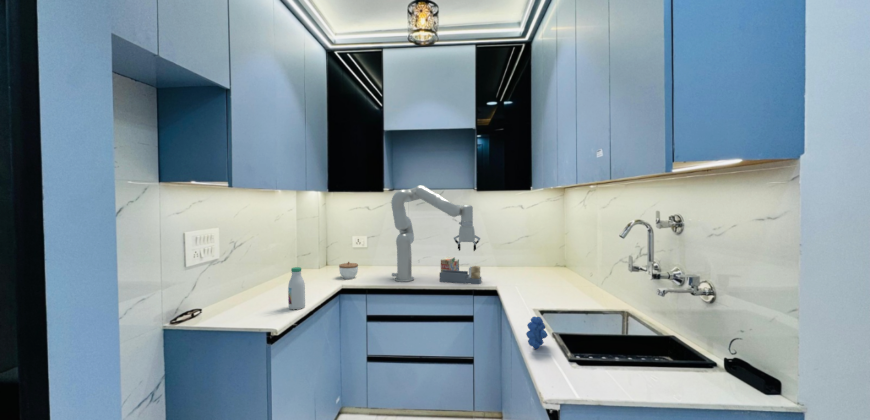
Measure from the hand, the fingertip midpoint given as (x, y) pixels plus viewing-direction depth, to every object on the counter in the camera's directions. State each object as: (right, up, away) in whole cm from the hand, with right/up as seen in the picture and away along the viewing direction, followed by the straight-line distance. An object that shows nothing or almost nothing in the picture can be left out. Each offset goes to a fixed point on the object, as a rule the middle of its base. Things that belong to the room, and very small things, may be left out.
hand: (466, 250), depth 228 cm
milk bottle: (-89, -23, -52) cm, 106 cm away
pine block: (+6, -17, -1) cm, 18 cm away
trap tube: (-4, -20, +2) cm, 21 cm away
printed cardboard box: (-10, -20, +24) cm, 33 cm away
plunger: (-1, -17, +1) cm, 17 cm away
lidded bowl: (-80, -20, +13) cm, 83 cm away
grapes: (+16, -24, -102) cm, 106 cm away
